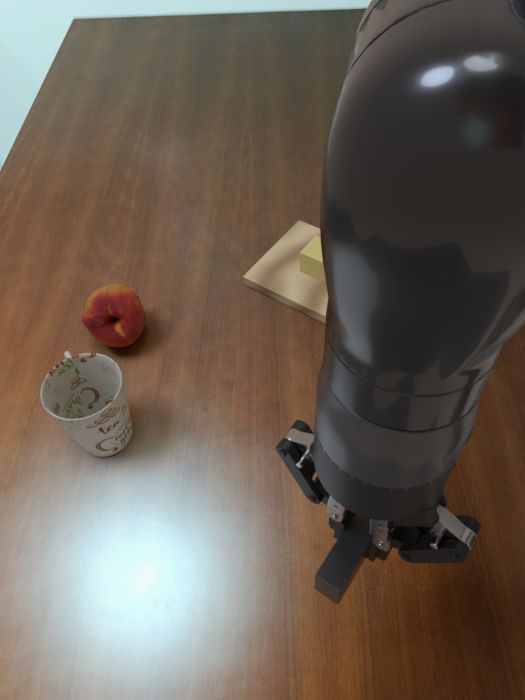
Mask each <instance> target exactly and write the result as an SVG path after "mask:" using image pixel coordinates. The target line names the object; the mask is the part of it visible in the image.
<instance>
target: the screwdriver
mask: <svg viewBox="0 0 525 700" xmlns="http://www.w3.org/2000/svg"><path fill="white" fill-rule="evenodd" d="M369 532H370V519H369V518H365V517H362V516H360V515H357V514H355V513H354V514H353V516H352V517H351V519H350V521H349V522H348V524H347V525H346V527H345V529H344V530H343V531H342V533H341V534H340V536H339V537H338V539H336V540H335V542H334V544H333V546H332V547H331V549H330V550H329V552H328V553H327V555H326V556H325V558H324V560H323V562H321V565H320V566H319V568H318V569H317V571H316V573H315V574H314V585H313V589H314V590H316V591H317V592H318V593H320V594H321V595H323V596H324V597H326V598H327V599H329V600H330V601H331V602H333V603H334V604H336V605H339V604H340V603H341V601H342V599H343V598H344V596H345V595H346V593H347V591H348V589H349V588H350V586H351V584H352V582H353V580H354V579H355V577H356V575H357V574H358V572H359V570H360V569H361V567H362V565H363V564H364V561H365V560H366V558H365V557H366V553H367V549H368V542H369V540H370V538H371V536H372V535H371V534H370V533H369Z"/></svg>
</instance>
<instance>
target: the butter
mask: <svg viewBox="0 0 525 700" xmlns="http://www.w3.org/2000/svg"><path fill="white" fill-rule="evenodd" d="M300 272H302V273H304V274H307V275H309V276H311V277H313V278H315V279H318V280H320V281H322V282H324V283H326V280H325V273H324V267H323V259H322V250H321V237H318V236H315V237H314V238H313V239H312V240H311V241H310V242H309V243H308V244H307V245H306V246H305V247H304V249H303V250H302V251H301V252H300Z"/></svg>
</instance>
